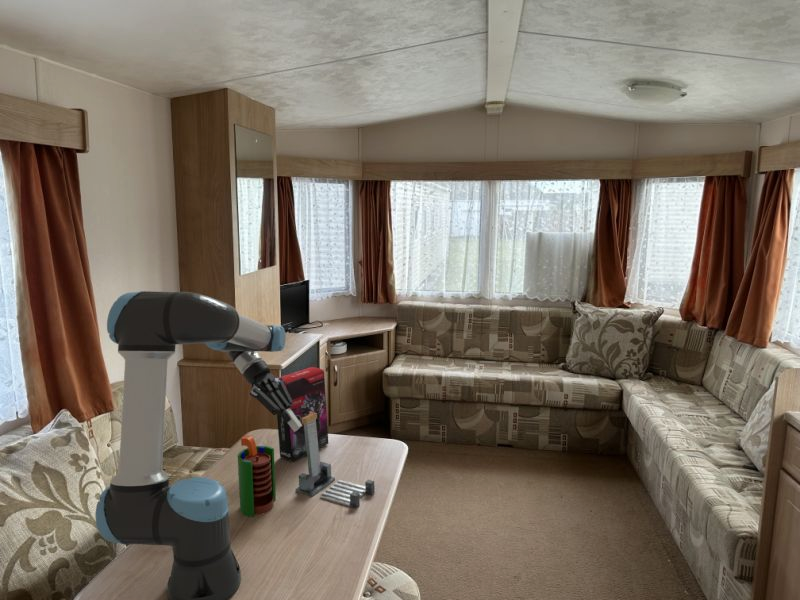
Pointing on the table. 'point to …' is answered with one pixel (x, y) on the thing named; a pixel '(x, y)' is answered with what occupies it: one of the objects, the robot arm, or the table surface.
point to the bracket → (334, 488)
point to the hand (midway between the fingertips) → (298, 428)
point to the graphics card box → (303, 411)
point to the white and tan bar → (312, 446)
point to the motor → (256, 478)
